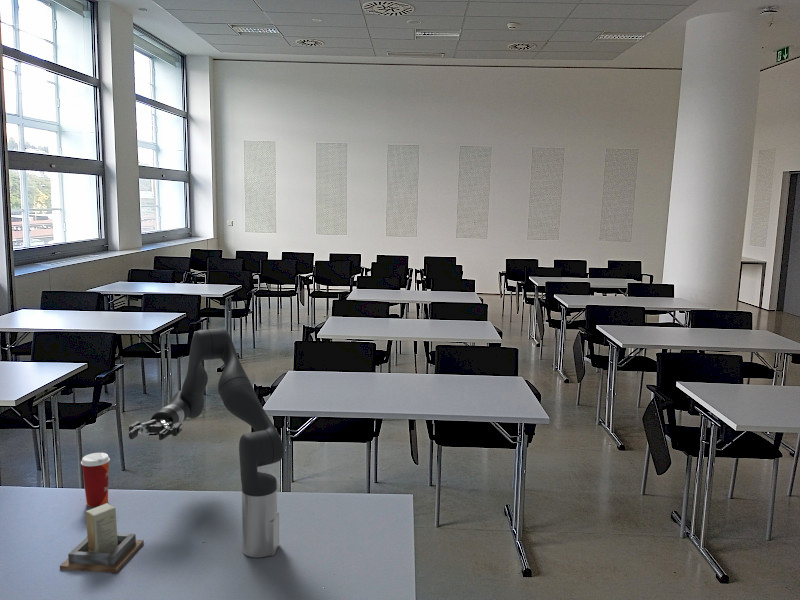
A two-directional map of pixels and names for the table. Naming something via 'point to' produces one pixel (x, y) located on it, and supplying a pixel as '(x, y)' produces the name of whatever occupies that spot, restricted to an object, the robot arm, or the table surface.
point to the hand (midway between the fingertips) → (145, 436)
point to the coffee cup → (96, 478)
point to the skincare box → (102, 529)
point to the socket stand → (102, 556)
